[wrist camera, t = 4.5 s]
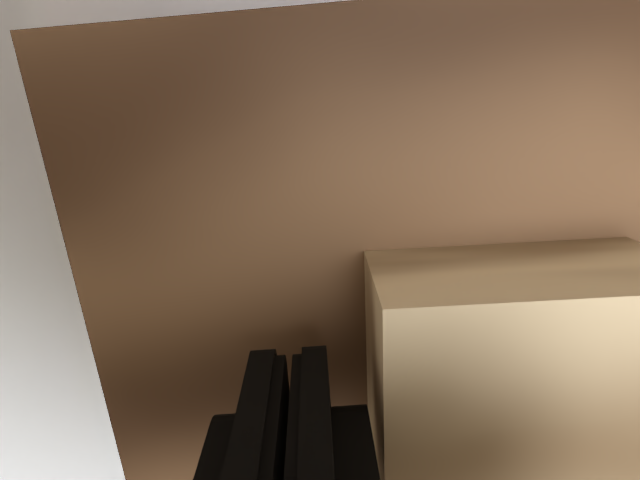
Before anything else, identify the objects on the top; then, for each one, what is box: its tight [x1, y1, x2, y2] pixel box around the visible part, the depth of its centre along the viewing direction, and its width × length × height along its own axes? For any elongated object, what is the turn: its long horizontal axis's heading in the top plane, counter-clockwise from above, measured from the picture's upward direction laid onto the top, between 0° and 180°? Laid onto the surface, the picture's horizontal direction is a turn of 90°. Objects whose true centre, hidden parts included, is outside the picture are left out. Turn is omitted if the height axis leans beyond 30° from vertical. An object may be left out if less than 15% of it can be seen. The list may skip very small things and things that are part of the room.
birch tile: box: [364, 237, 640, 480], centre depth 11 cm, size 6×6×3 cm
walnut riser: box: [10, 0, 640, 480], centre depth 15 cm, size 16×16×6 cm
